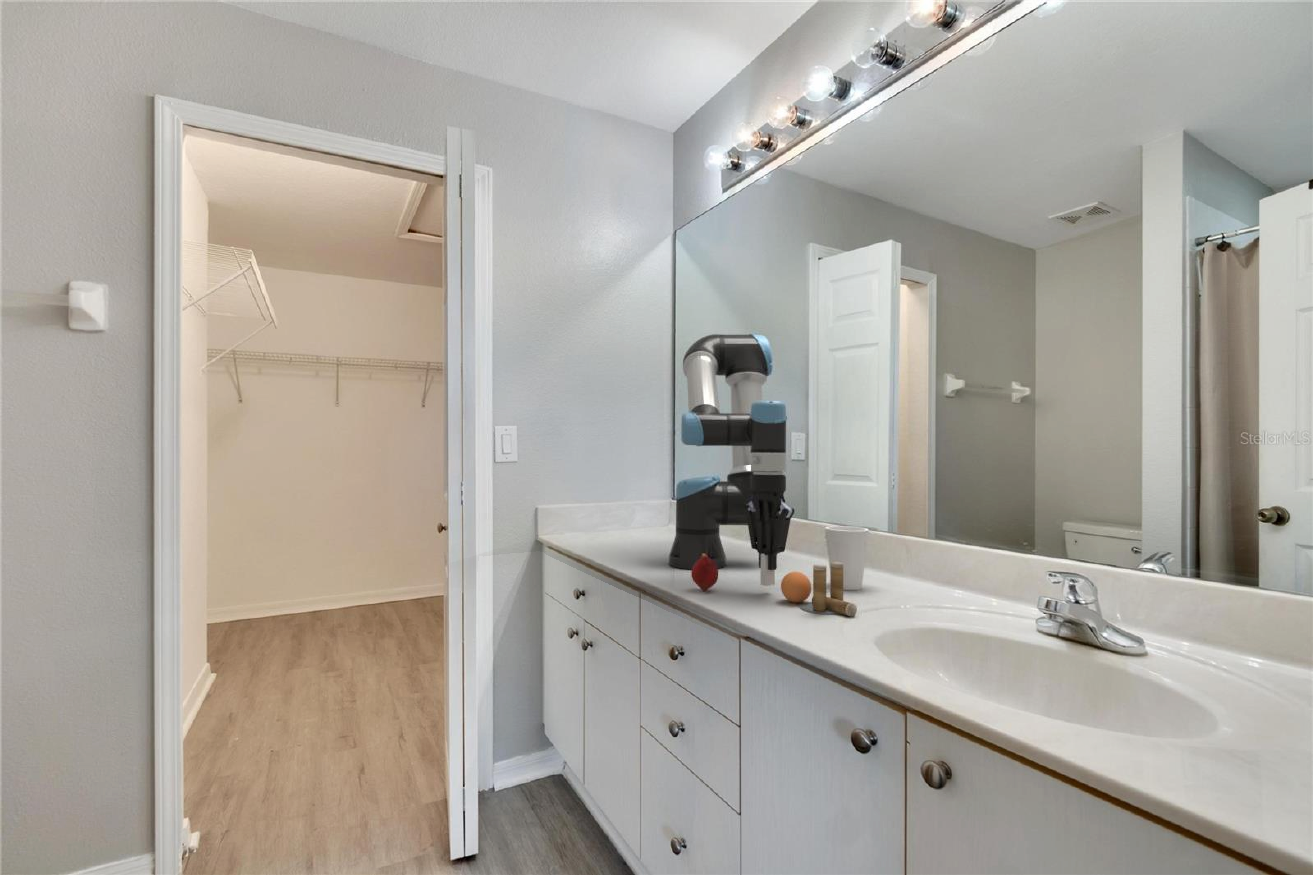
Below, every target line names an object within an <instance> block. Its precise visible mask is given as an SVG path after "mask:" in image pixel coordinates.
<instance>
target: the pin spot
mask: <svg viewBox="0 0 1313 875" xmlns="http://www.w3.org/2000/svg"><path fill="white" fill-rule="evenodd" d="M799 608H800V609H801V610H802V611H805V612H808V613H812V614H817V615H837V614H840V613H837V612H833V611H830V610H826V612H815V611H813V605H812V601H809V602H808V601H807V602H803V603H801V604H799Z"/></svg>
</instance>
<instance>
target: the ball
mask: <svg viewBox="0 0 1313 875" xmlns="http://www.w3.org/2000/svg"><path fill="white" fill-rule="evenodd" d="M780 590H781V593H782V595H783V597H784V598H785V599H786V600H788V601H790V602H792V603H802V602H804V601H806V600H807V599H808V598H809V597H810V596H811V594H812V583H811V580H810V579H809V577H808V576H807V575H806V574H804V573H802V572H800V571H791V572H788V573H787V574H785V575H784V576H783V578H782V580H781V582H780Z"/></svg>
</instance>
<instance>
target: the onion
mask: <svg viewBox="0 0 1313 875" xmlns="http://www.w3.org/2000/svg"><path fill="white" fill-rule="evenodd" d="M690 573H691V579H692V581H693V582H694V584H696V585H697V587H698V588H700V590H701V591H703V592H707V591H708V590H709V589H710V588H713V586H715V585H716V583H717V581H718V580H719V568H717V566H716V564H715V563H714V562H713V561H712V560H711V559H709V558H708V556H707V555H706V554H704V553H702V558H700V559H699V560H698V561H697V562H696V563H695V564H694V566H693V568H692V569H691V572H690Z"/></svg>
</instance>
